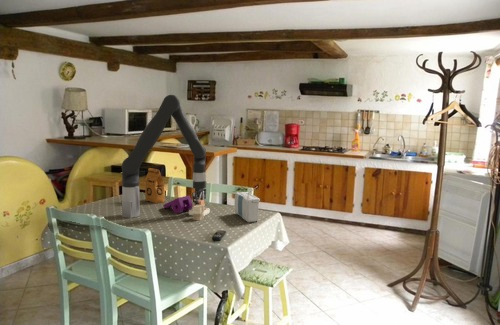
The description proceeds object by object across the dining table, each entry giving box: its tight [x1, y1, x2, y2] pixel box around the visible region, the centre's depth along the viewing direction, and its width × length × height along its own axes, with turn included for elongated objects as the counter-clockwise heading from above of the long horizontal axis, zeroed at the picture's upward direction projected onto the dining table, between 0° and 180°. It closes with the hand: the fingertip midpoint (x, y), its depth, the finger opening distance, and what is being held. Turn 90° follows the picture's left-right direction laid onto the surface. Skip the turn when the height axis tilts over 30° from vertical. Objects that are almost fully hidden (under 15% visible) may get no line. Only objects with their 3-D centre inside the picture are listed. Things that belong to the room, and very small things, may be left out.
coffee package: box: [144, 167, 165, 204], centre depth 256 cm, size 10×12×22 cm
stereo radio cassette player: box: [234, 185, 261, 223], centre depth 222 cm, size 21×8×20 cm, turn 21°
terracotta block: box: [193, 199, 206, 206], centre depth 229 cm, size 4×4×8 cm
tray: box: [188, 207, 211, 217], centre depth 229 cm, size 9×9×3 cm
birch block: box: [192, 204, 205, 221], centre depth 218 cm, size 4×4×8 cm
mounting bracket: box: [162, 195, 194, 214], centre depth 236 cm, size 10×8×18 cm
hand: (199, 208), depth 229 cm, fingers open, 5 cm apart
